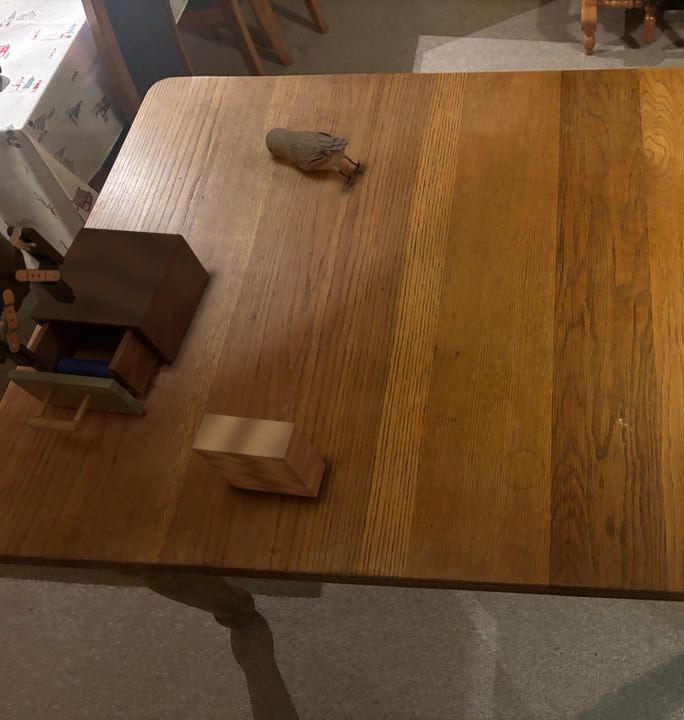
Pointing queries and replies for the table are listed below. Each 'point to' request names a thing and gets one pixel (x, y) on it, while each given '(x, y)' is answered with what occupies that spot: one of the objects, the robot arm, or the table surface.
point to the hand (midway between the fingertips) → (51, 331)
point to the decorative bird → (309, 149)
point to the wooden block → (260, 454)
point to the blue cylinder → (86, 368)
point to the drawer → (89, 343)
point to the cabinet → (130, 286)
